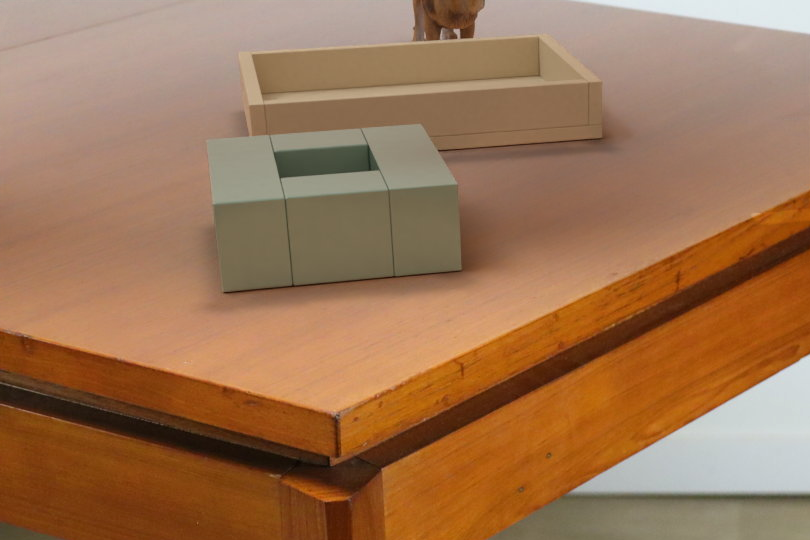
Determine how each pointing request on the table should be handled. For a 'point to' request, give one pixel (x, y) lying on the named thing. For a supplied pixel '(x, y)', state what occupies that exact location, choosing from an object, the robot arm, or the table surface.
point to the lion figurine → (445, 18)
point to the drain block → (332, 207)
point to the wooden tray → (427, 90)
